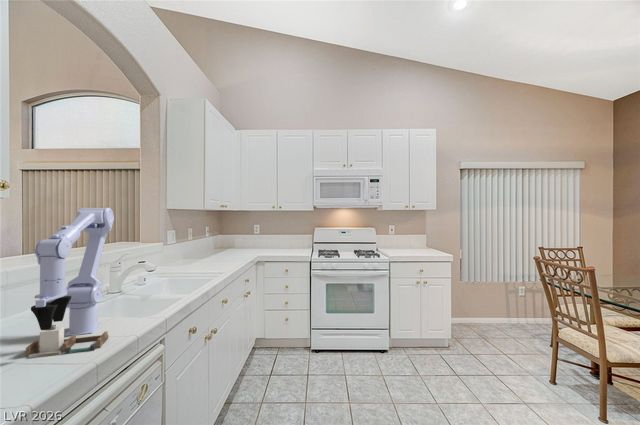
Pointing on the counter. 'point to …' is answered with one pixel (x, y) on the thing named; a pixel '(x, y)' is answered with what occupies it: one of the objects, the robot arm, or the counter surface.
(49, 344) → the plug
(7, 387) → the counter surface
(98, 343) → the slot rack
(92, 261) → the robot arm
